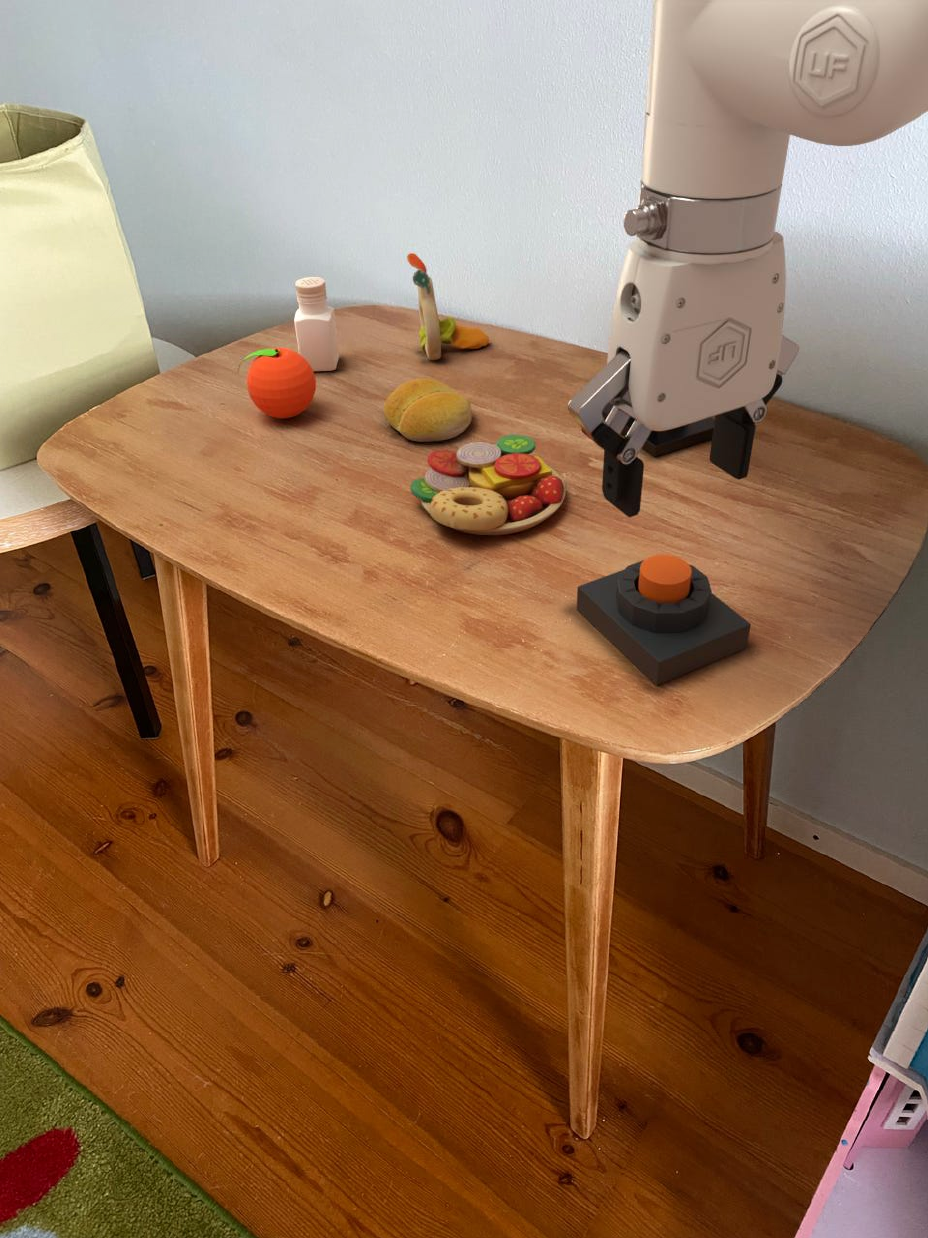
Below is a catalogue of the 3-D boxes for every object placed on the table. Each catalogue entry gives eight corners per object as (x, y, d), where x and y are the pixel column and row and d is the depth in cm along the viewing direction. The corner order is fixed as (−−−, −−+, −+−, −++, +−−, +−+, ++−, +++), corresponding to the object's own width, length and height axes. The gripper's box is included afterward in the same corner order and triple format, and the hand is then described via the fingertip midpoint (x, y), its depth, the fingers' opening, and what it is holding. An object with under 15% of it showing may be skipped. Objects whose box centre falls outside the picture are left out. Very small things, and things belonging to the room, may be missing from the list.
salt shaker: (336, 372, 109) (326, 287, 104) (300, 373, 110) (288, 288, 104) (340, 357, 113) (330, 274, 107) (306, 358, 113) (294, 275, 107)
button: (699, 594, 70) (702, 574, 69) (658, 610, 69) (660, 590, 67) (668, 568, 72) (670, 549, 71) (628, 583, 71) (629, 564, 70)
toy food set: (445, 557, 81) (443, 524, 79) (394, 482, 90) (391, 451, 88) (590, 520, 84) (592, 487, 82) (526, 451, 94) (526, 420, 92)
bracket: (721, 435, 95) (740, 306, 87) (654, 457, 92) (667, 325, 84) (652, 392, 103) (663, 270, 95) (588, 411, 100) (594, 287, 92)
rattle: (482, 367, 109) (480, 263, 102) (410, 366, 110) (402, 263, 103) (490, 340, 115) (488, 240, 108) (420, 339, 116) (414, 239, 109)
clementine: (233, 428, 100) (220, 362, 95) (255, 397, 105) (243, 333, 101) (309, 431, 99) (299, 365, 94) (327, 400, 104) (319, 335, 100)
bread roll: (419, 453, 94) (416, 415, 92) (373, 419, 100) (370, 382, 98) (490, 428, 98) (489, 391, 95) (442, 396, 104) (440, 360, 101)
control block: (746, 647, 71) (755, 603, 68) (656, 686, 68) (661, 641, 65) (661, 577, 78) (666, 535, 75) (576, 609, 75) (578, 566, 72)
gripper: (616, 265, 49) (598, 554, 60) (873, 204, 55) (815, 477, 66) (536, 226, 54) (533, 498, 65) (780, 175, 60) (740, 432, 71)
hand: (675, 487), depth 65 cm, fingers open, 8 cm apart
